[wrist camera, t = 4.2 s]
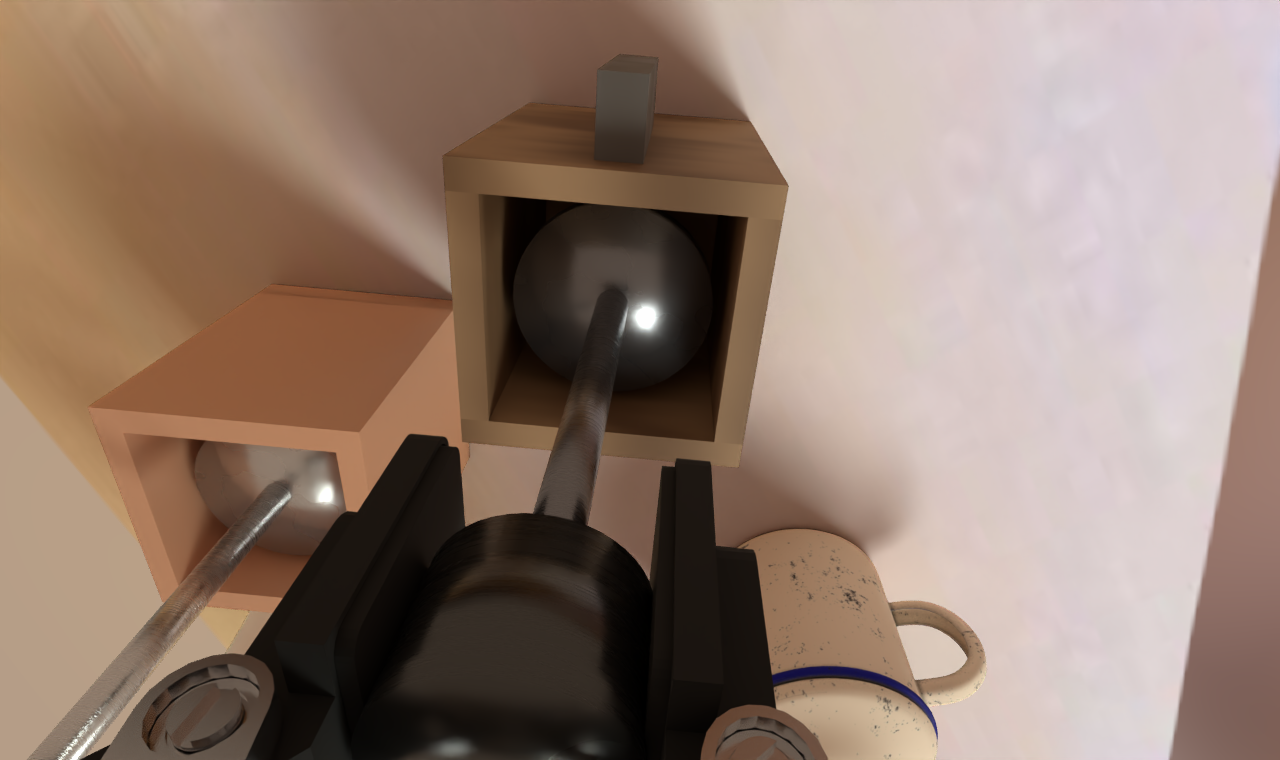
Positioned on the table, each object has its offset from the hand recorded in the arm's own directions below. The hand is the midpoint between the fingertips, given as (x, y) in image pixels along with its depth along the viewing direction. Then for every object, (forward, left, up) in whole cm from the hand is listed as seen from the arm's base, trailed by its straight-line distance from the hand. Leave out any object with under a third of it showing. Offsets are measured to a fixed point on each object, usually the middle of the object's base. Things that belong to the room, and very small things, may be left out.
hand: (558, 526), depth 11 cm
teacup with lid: (-11, +18, -18) cm, 28 cm away
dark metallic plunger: (0, 0, -10) cm, 10 cm away
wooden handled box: (0, 0, -18) cm, 18 cm away
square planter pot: (+11, +8, -18) cm, 22 cm away
